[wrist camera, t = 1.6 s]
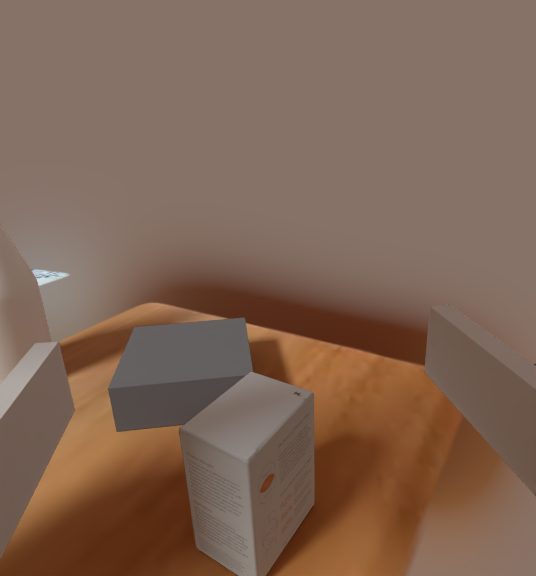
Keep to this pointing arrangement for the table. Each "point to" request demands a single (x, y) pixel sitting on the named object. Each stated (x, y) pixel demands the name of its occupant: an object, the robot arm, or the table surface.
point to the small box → (250, 472)
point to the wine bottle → (18, 308)
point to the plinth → (177, 371)
